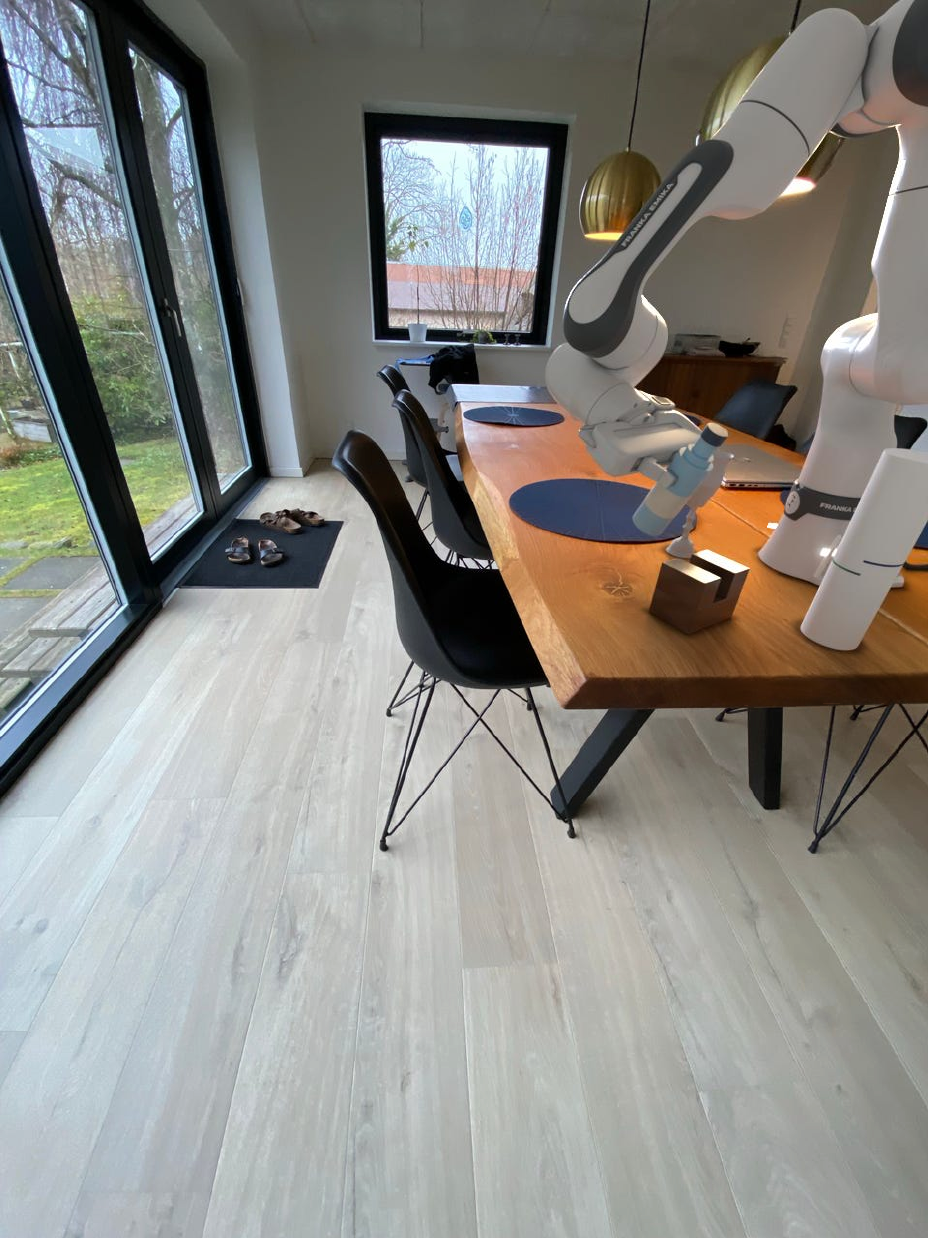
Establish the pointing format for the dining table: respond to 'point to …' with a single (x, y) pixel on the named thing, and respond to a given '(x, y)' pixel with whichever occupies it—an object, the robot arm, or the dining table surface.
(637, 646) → the dining table surface
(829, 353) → the robot arm
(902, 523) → the cylindrical container
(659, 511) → the bottle
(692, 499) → the chalice
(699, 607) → the block
